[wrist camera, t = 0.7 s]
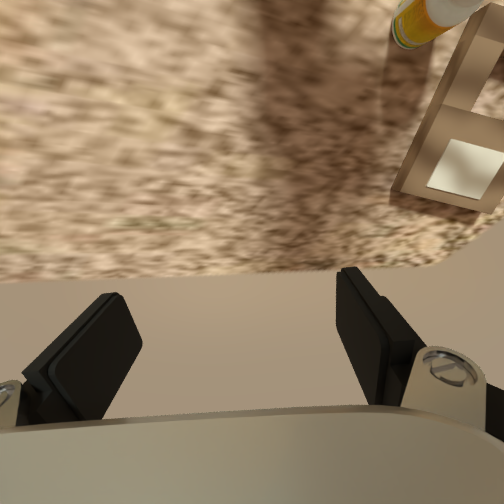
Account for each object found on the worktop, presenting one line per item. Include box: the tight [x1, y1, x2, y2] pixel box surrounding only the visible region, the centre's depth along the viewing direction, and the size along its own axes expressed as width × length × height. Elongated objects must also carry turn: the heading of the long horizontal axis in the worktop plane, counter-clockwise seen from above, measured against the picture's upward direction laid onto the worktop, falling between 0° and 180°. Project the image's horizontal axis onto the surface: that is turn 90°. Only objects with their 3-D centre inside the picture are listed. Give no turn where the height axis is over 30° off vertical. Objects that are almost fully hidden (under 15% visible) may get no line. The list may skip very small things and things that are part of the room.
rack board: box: [391, 3, 504, 214], centre depth 30 cm, size 20×14×3 cm
